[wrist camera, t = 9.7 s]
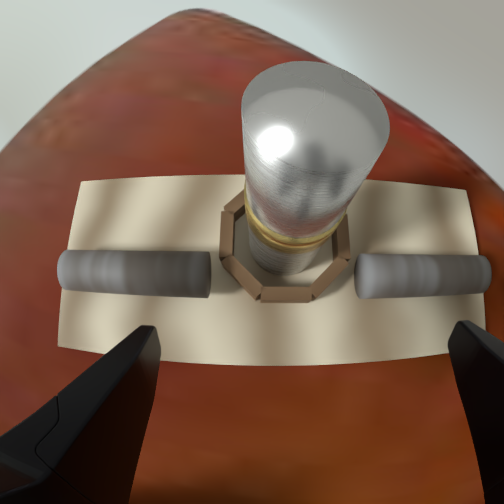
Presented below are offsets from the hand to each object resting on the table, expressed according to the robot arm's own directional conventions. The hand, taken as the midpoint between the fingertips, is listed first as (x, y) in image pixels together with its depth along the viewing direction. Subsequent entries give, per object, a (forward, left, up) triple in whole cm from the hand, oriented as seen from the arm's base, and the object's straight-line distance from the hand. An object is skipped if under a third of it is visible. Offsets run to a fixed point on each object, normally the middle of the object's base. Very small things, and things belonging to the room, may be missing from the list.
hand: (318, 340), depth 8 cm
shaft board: (+2, -4, -12) cm, 13 cm away
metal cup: (+3, -6, -11) cm, 13 cm away
